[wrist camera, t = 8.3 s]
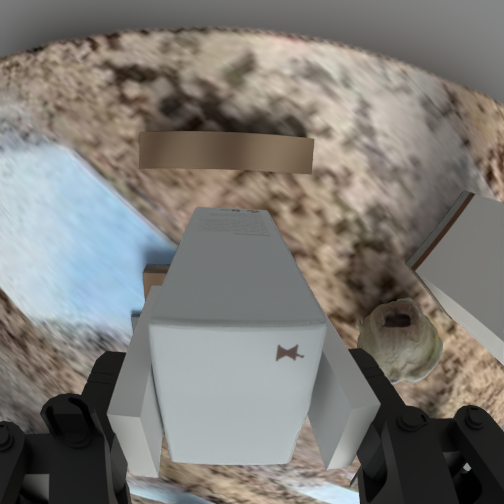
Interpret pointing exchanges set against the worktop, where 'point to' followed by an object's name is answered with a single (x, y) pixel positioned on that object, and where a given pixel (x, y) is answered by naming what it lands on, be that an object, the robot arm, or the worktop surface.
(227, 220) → the skincare box
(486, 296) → the white tall block
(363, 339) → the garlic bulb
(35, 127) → the worktop surface
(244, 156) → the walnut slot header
